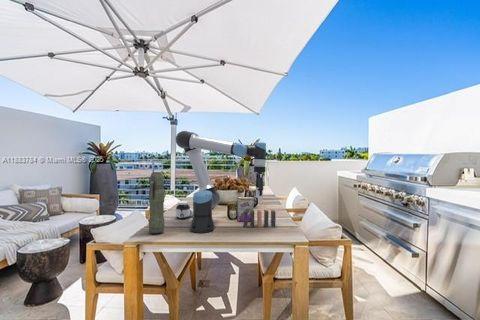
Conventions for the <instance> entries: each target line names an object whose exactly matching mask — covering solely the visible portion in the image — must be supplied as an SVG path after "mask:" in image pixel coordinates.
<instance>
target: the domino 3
mask: <svg viewBox="0 0 480 320" xmlns="http://www.w3.org/2000/svg"><path fill="white" fill-rule="evenodd" d="M256 215H257V219H256V220H257V222H256V223H257V224H256V225H257V227H258V228H262V210H261V209H257V214H256Z"/></svg>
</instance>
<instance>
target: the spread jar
mask: <svg viewBox="0 0 480 320" xmlns="http://www.w3.org/2000/svg"><path fill="white" fill-rule="evenodd" d="M175 216H176V218H177V219H180V220H186V219H188V218H189V217H192V218H193V207H192V208H191V207H190V205H189V201H185V200H184V201H182V200H181V201H178V204H177V205H176V207H175Z"/></svg>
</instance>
